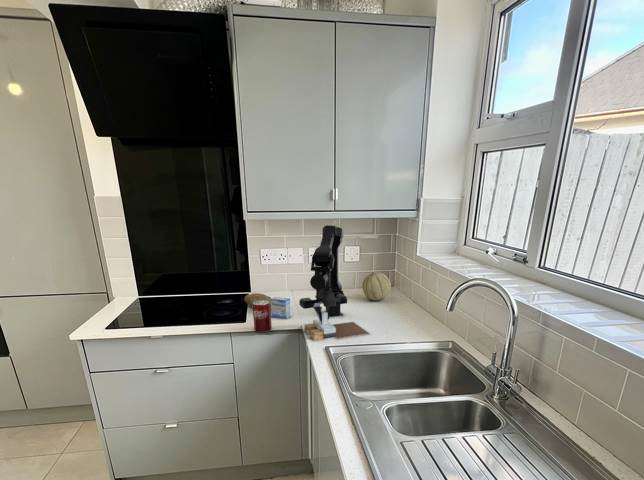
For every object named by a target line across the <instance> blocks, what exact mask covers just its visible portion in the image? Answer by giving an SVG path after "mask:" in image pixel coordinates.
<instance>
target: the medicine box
mask: <svg viewBox="0 0 644 480" xmlns="http://www.w3.org/2000/svg"><path fill="white" fill-rule="evenodd" d="M271 298H272V299H271V318H278V319H288V318H290V317H291V298H288V297H278V296H277V297H276V296H274V297H271Z"/></svg>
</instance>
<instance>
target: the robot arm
mask: <svg viewBox="0 0 644 480" xmlns="http://www.w3.org/2000/svg"><path fill="white" fill-rule="evenodd" d="M343 238H344V229H343V228H341V227H340V226H339V227H338V226H336V225H334V224H333V225H331V224H330V225H329V224H327V225H323V227H322V236H321V241H320V244H319V246H318V247H315V250H314V252H313V253H312V255H311V256H312V257H311V263H310V271H311V272H314V274H313V276H311V278H310V279H309V280H310V281H309V284H310V286H311V288H312V289H313V290H315V294H316V295H314V297H315V299H312V298H310V297H302V298H300V299H299V301H298V302H299V306H300V307H301V308H302V309H305V310H306V309H314V311H315V313H316V315H317V319H319V320H320V322H322V315H321V311H322V310H323V307H325V311H326V312H328V321H329V319H330V318H334V317H341V316H344V313H342V312H341V310H342V309H341V306H342V305H345V304H348V297H347V296H346V295H345V293H344V290H343V286H342V284H341V282H340V281H339V248H340V246H341V245H342V242H343ZM321 304H322V305H323V307H322V306H321Z"/></svg>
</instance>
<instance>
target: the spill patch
mask: <svg viewBox="0 0 644 480" xmlns="http://www.w3.org/2000/svg"><path fill="white" fill-rule="evenodd" d="M332 325H333V326H334V327H335V328H336V336H335V337H336V338H337V339H342V338H348V337H355V336H361V335H369V334H370V333H369V332H368V331H366V330H365V329H363V328H362V327H361V326H359V325H358V324H356V323H355V322H353V321H349V322H341V323H336V324H332Z"/></svg>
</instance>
